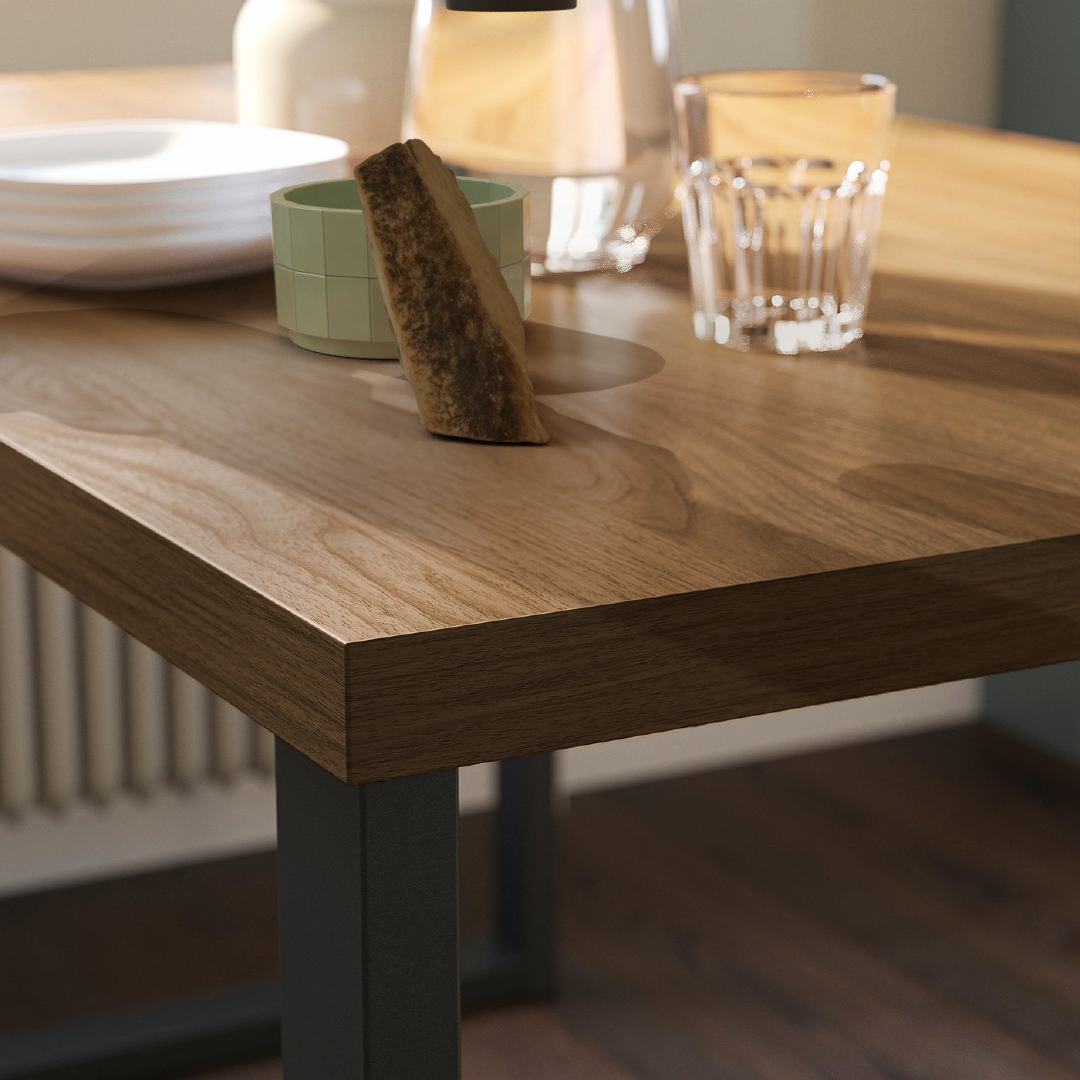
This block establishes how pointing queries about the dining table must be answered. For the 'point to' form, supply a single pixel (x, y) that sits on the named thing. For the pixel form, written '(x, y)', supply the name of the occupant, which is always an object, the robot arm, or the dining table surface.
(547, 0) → the dark weighted post stand
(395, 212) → the rock
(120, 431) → the dining table surface
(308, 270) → the bowl
